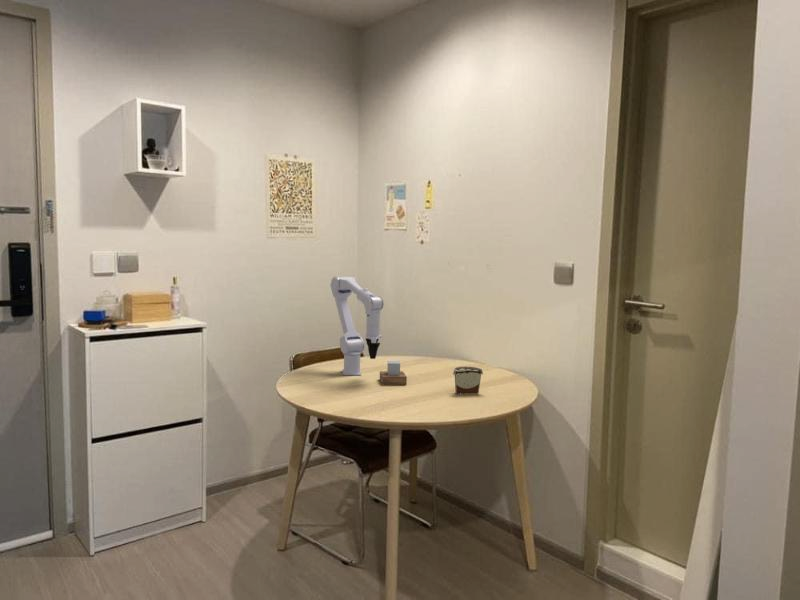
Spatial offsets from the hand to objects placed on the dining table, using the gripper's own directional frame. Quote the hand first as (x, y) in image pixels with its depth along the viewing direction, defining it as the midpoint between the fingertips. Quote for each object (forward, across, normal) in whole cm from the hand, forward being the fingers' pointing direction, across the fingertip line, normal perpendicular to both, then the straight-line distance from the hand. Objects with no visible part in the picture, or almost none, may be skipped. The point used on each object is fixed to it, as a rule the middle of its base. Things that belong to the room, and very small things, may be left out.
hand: (372, 356), depth 254 cm
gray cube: (+7, -2, -9) cm, 12 cm away
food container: (+11, -17, -37) cm, 42 cm away
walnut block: (+11, -2, -9) cm, 14 cm away
